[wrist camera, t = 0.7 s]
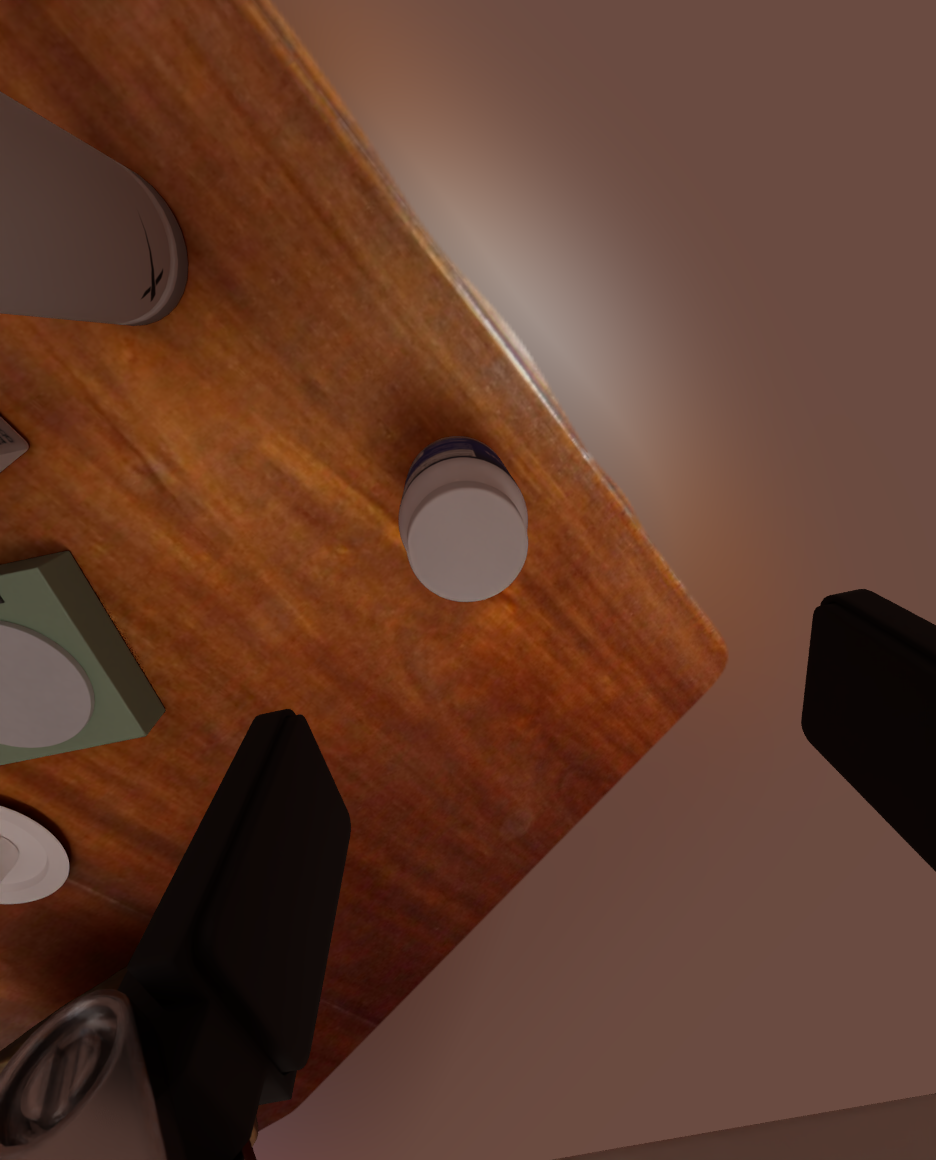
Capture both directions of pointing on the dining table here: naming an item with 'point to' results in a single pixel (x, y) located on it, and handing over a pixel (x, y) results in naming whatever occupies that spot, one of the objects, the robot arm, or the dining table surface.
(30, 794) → the dining table surface
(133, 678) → the scale
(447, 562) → the pill bottle
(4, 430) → the container
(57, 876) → the candle holder
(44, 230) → the travel mug
